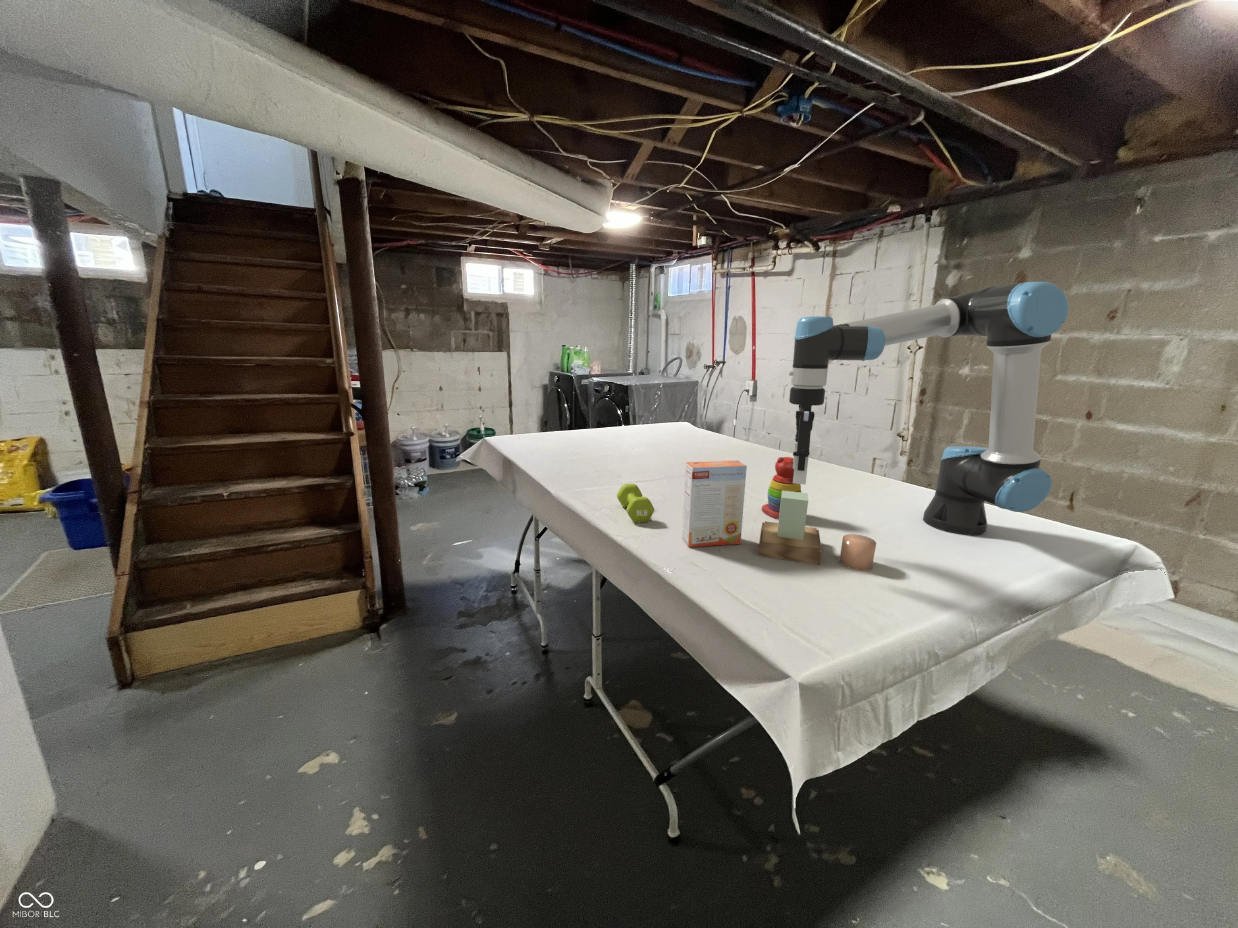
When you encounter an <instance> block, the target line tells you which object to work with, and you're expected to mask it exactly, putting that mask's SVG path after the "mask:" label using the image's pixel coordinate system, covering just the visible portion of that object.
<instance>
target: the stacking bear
mask: <svg viewBox="0 0 1238 928" xmlns="http://www.w3.org/2000/svg"><path fill="white" fill-rule="evenodd" d="M793 459H794V457H792V456H784V457H781V456H780V457H778V458H777V461H776V462H775V464H774V469H775V473H776V474H774V476H772V479H771V481H770V484H769V486H768V490H767V503H766V504H763V505H762V506H761V511H762V513H764V514H765V515H766V516H768V517H771V518H772V519H774V520H779V513H780V504H781V495H782V491H791V492H800V493H802V484H794V483H793V476H794V469H793Z"/></svg>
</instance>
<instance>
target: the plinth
mask: <svg viewBox="0 0 1238 928" xmlns="http://www.w3.org/2000/svg"><path fill="white" fill-rule="evenodd" d="M760 529H761V530H760V536H759V543H758V551H757V552H758V553H757V556H759V557H766V558H767V557H768V558H773V559H777V560H778V559H779V560H785V561H791V562H798V563H805V564H811V565H817V566H820V565H821V561H822V555H823V550H822V549H823V548H822V543H821V536H820V530H819V529H817V527H811V526H805V531H804V538H803V540H799V539H792V538H785V537H778V536H777V532H778V522H774V521H773V522H772V521H764V522H763V521H762V522H761V528H760Z"/></svg>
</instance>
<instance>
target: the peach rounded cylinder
mask: <svg viewBox="0 0 1238 928" xmlns="http://www.w3.org/2000/svg"><path fill="white" fill-rule="evenodd" d="M876 547H877V542H876V540H874V539H872V538H871V537H869V536H866V535H861V534H853V533H850V534H844V535H843V536H842V542H841V548H840V554H839V555H840V556H839V559H838V560H839V563H840V564H841V565H842V566H844V567H846V568H848V569H851V570H855V571H860V572H861V571H864V572H865V571H870V570H872V569H873V564H874V559H875V553H876Z"/></svg>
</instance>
